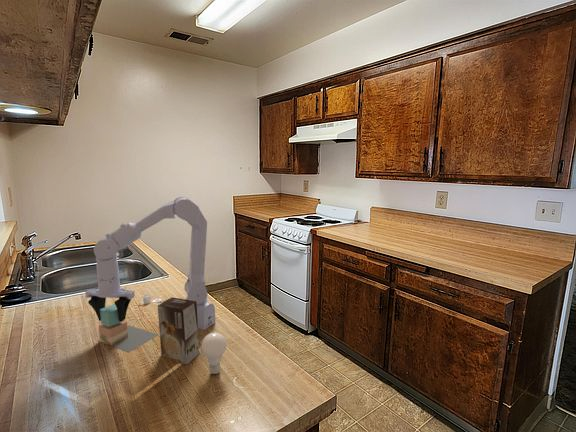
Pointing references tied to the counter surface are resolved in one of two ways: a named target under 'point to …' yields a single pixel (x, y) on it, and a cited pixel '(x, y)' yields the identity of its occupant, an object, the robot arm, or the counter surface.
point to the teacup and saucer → (149, 299)
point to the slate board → (133, 339)
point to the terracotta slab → (112, 329)
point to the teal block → (109, 315)
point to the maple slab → (113, 338)
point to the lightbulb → (213, 350)
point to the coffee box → (179, 329)
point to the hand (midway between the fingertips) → (112, 319)
